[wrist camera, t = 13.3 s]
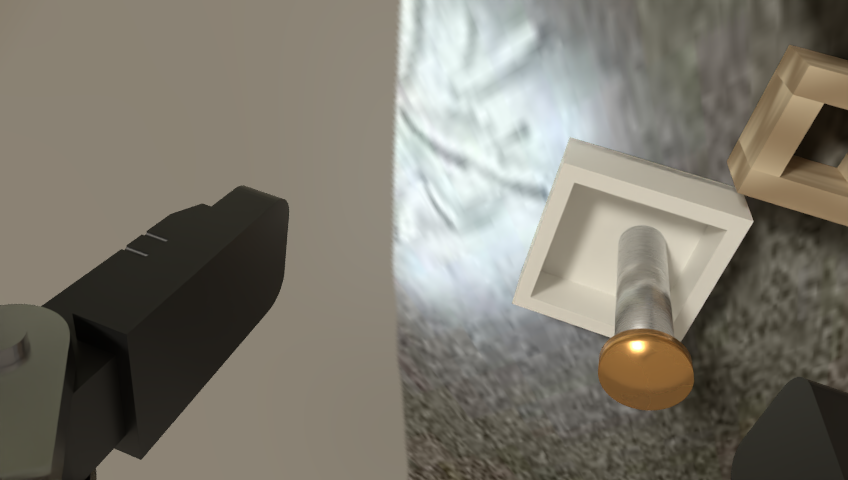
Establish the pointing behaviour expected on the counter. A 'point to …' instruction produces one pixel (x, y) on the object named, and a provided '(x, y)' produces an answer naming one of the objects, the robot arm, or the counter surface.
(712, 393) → the counter surface
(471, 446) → the counter surface
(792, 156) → the pin block
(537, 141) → the counter surface
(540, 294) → the tray
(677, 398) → the pin
